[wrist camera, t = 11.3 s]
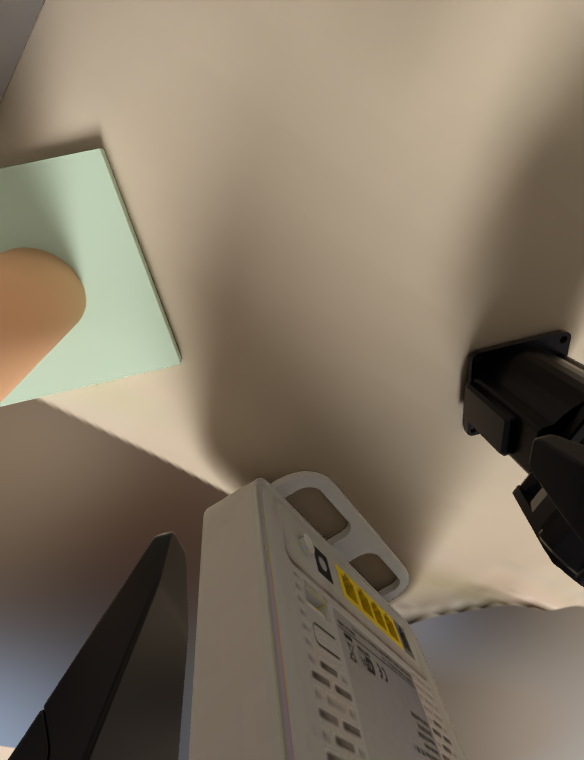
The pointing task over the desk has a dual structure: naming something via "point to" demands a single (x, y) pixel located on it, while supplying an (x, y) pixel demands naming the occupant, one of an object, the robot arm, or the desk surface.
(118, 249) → the mat
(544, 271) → the desk surface
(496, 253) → the desk surface
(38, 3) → the grey peg hole block
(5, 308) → the plug
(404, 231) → the desk surface
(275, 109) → the desk surface
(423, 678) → the network device
